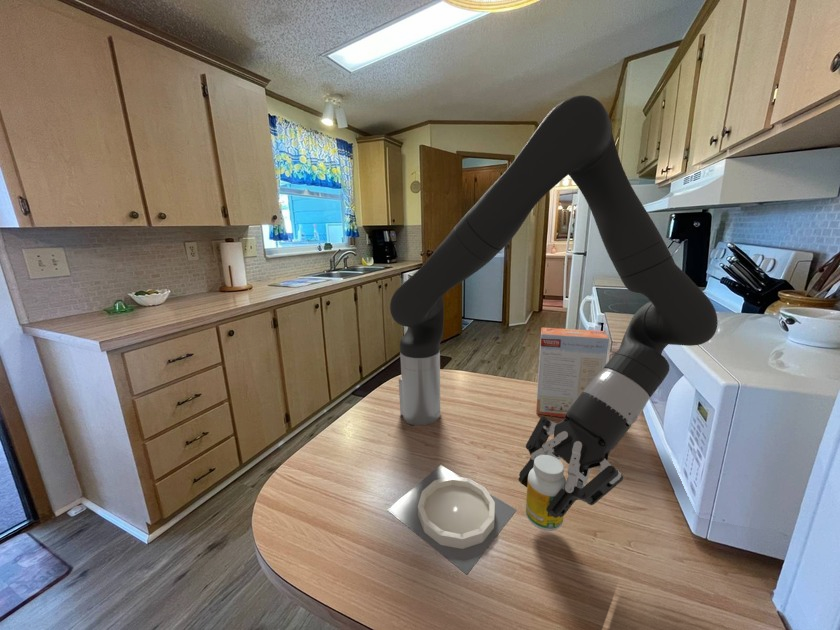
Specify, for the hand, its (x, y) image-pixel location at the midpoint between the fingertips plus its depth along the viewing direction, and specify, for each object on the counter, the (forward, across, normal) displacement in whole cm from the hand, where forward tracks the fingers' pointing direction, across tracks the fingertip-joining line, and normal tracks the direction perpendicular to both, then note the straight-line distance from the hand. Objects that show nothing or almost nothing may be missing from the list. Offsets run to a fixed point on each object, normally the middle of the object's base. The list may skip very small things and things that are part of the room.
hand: (536, 498), depth 49 cm
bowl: (+11, -8, -1) cm, 14 cm away
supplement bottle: (+2, 0, +4) cm, 5 cm away
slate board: (+12, -9, -1) cm, 15 cm away
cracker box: (-16, -24, +27) cm, 39 cm away
